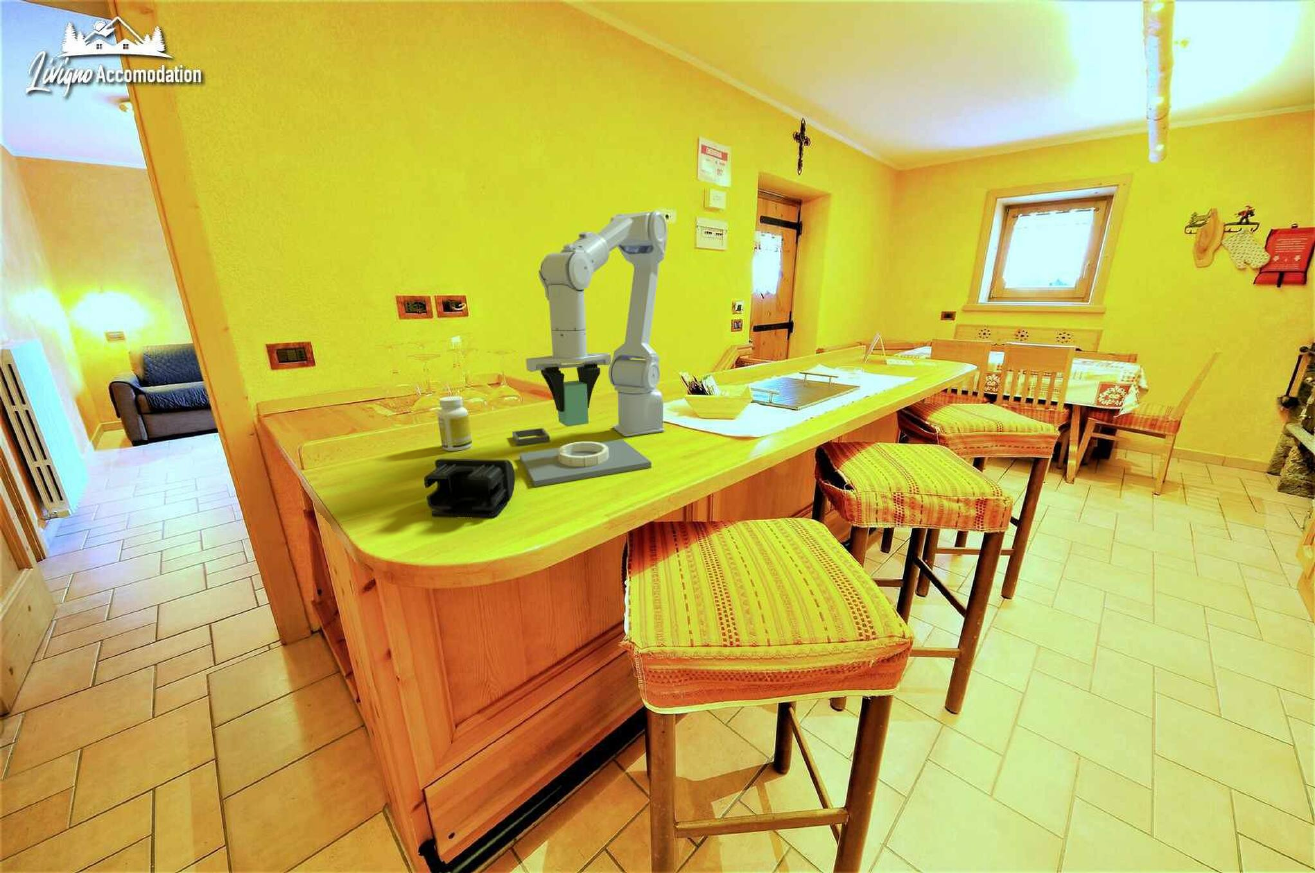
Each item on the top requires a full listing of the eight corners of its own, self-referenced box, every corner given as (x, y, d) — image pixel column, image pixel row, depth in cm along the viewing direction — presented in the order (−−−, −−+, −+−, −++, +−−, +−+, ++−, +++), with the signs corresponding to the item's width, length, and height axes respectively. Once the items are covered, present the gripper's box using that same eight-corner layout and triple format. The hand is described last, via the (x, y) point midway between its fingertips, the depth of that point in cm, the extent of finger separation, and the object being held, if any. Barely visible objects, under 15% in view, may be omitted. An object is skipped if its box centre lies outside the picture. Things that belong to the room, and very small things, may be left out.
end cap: (517, 496, 68) (513, 453, 66) (499, 519, 61) (494, 472, 59) (451, 495, 68) (445, 452, 66) (426, 517, 61) (418, 470, 59)
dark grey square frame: (543, 433, 98) (542, 427, 98) (549, 441, 92) (549, 436, 92) (512, 437, 95) (512, 431, 95) (517, 445, 90) (517, 440, 89)
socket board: (622, 444, 91) (622, 431, 90) (651, 467, 79) (651, 453, 78) (519, 458, 83) (518, 445, 82) (534, 487, 71) (533, 471, 70)
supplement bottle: (477, 443, 91) (471, 395, 88) (463, 452, 86) (457, 401, 83) (451, 442, 92) (444, 395, 89) (436, 451, 87) (428, 401, 84)
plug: (579, 418, 83) (577, 380, 81) (588, 423, 80) (586, 384, 78) (558, 421, 81) (556, 382, 79) (566, 426, 78) (564, 386, 76)
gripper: (598, 326, 83) (600, 399, 87) (518, 329, 75) (525, 409, 79) (615, 329, 77) (617, 407, 81) (530, 332, 70) (537, 418, 74)
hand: (572, 409), depth 80 cm, fingers closed on plug, 4 cm apart
